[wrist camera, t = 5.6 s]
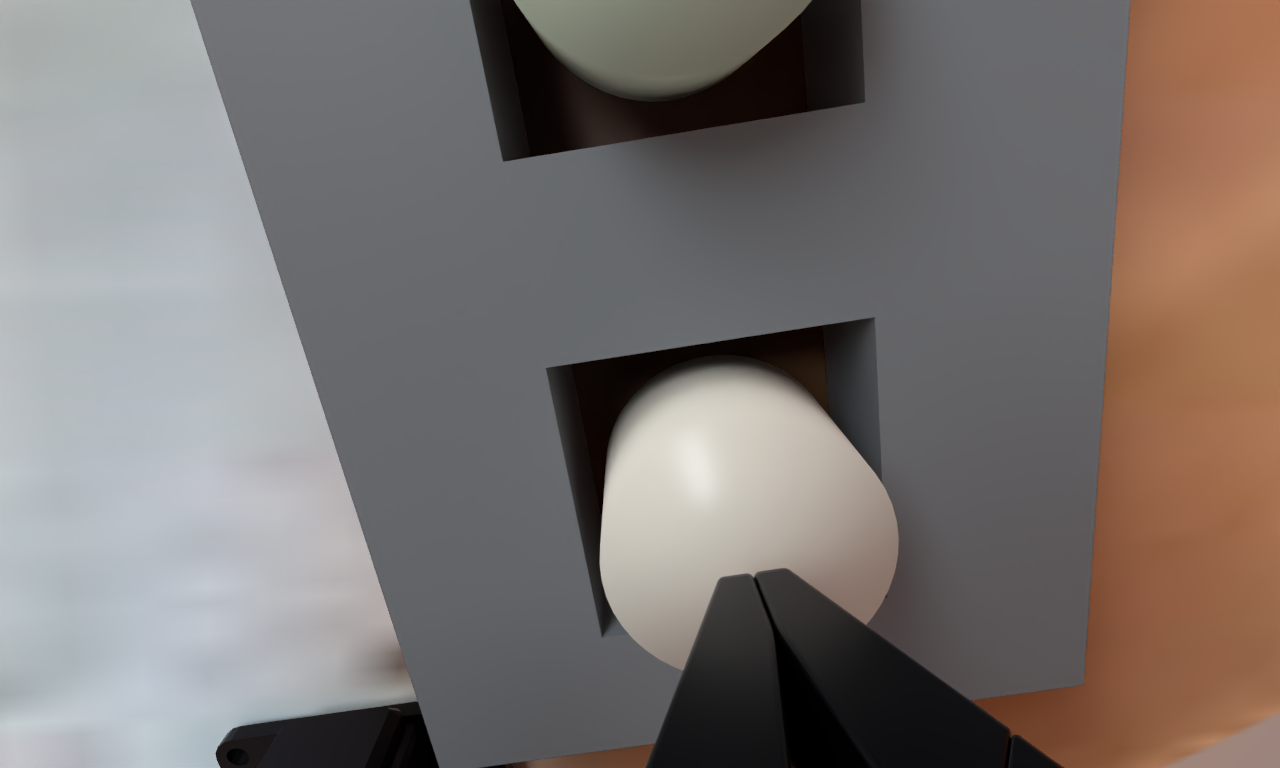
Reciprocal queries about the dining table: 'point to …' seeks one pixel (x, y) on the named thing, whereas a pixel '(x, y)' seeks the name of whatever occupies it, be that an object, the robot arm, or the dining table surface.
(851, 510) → the cream button
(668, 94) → the sage button
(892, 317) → the button panel
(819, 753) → the robot arm
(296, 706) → the dining table surface
